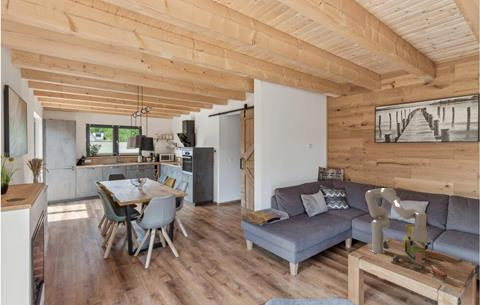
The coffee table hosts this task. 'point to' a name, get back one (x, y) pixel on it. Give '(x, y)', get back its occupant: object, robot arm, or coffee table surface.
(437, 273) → the bull figurine
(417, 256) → the salmon pink rectangular box
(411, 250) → the tea box
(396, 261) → the press base
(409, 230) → the pitcher
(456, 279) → the coffee table surface
